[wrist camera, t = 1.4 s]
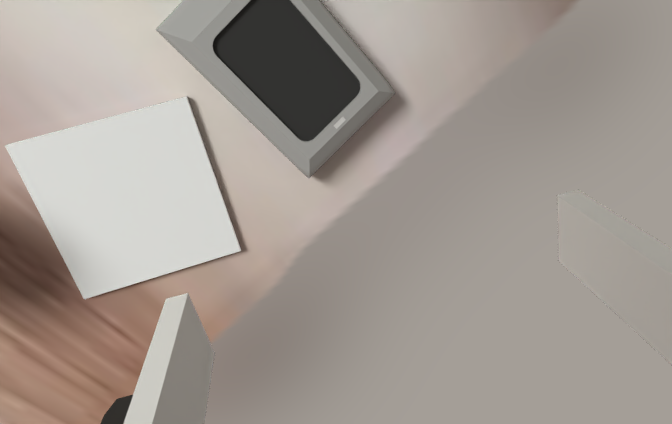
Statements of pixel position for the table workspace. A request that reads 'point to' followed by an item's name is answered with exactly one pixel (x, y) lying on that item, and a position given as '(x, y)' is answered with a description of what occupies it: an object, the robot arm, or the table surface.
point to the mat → (128, 196)
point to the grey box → (282, 70)
